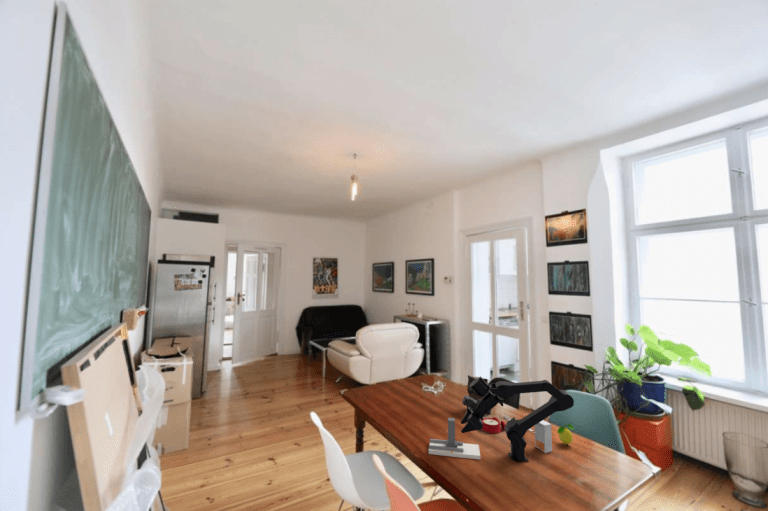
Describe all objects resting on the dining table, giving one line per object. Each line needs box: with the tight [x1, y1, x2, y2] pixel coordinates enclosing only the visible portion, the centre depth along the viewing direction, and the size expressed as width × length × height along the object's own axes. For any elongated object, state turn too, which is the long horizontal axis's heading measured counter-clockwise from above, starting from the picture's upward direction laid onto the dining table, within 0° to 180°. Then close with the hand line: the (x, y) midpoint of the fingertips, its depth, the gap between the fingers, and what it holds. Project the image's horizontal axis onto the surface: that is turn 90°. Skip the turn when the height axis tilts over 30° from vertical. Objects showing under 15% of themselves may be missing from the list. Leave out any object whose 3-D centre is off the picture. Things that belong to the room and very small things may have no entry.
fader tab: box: [445, 417, 458, 448], centre depth 149 cm, size 5×4×12 cm
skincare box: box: [534, 419, 553, 454], centre depth 150 cm, size 6×4×12 cm
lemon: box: [557, 422, 575, 446], centre depth 155 cm, size 7×6×10 cm
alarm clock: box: [481, 416, 507, 434], centre depth 171 cm, size 10×6×15 cm
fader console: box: [428, 438, 481, 461], centre depth 148 cm, size 22×10×3 cm, turn 78°
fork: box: [502, 413, 534, 432], centre depth 175 cm, size 3×24×2 cm, turn 25°
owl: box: [466, 374, 492, 416], centre depth 194 cm, size 13×13×20 cm
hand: (461, 427), depth 148 cm, fingers open, 9 cm apart
